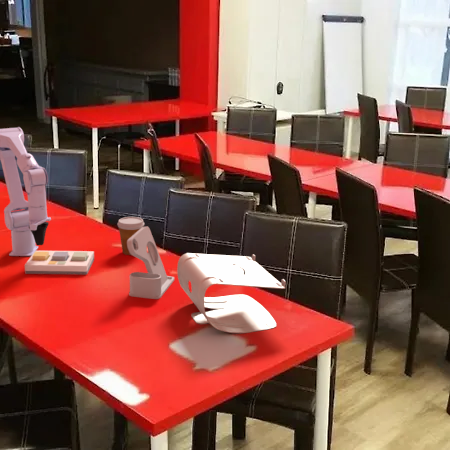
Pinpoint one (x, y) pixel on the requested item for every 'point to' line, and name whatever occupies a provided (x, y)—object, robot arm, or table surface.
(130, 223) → the disposable coffee cup
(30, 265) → the keyguard panel
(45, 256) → the key ochre
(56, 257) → the key slate
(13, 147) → the robot arm
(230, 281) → the portable electronic device stand
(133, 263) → the table surface
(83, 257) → the key sage
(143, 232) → the phone holder
